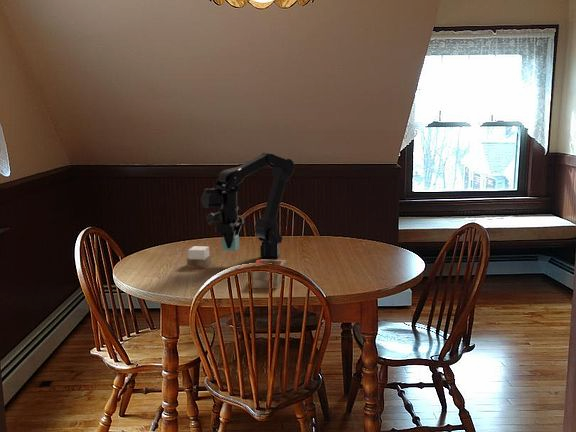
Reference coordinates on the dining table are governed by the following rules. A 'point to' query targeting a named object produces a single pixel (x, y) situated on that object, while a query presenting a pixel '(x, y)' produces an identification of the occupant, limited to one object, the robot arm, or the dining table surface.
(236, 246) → the teal cube
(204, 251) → the cream block
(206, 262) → the walnut block
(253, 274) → the bracket cradle
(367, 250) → the dining table surface
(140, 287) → the dining table surface
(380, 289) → the dining table surface
